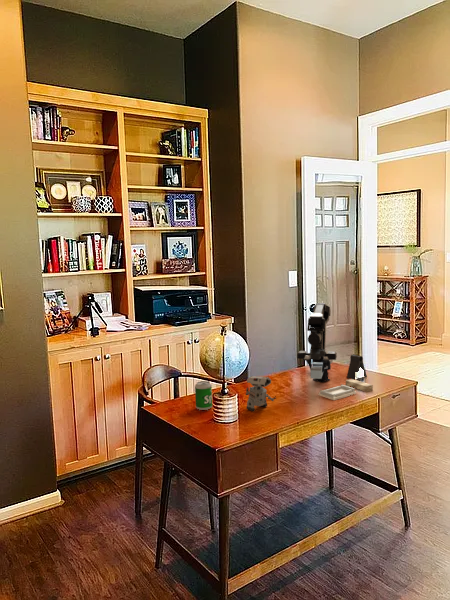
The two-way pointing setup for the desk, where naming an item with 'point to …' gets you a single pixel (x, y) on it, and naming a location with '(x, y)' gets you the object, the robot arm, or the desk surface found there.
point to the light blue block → (316, 370)
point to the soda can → (203, 395)
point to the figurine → (257, 392)
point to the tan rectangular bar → (359, 385)
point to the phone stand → (355, 366)
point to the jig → (337, 392)
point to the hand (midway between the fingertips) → (317, 372)
